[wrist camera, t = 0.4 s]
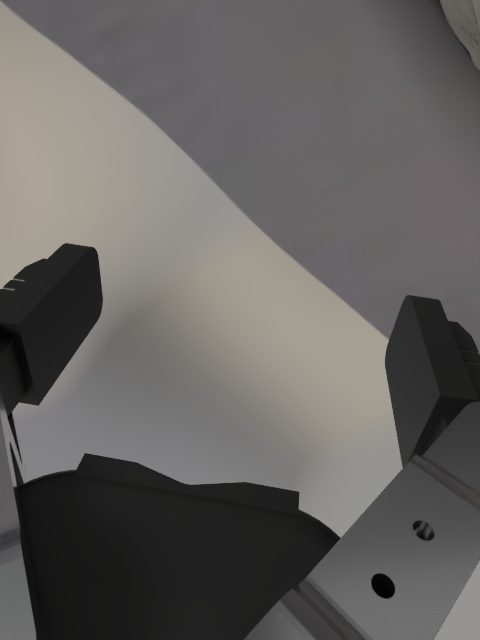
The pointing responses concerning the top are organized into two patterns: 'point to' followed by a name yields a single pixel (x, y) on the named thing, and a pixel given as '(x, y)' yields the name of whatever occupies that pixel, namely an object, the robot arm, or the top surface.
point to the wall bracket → (465, 24)
